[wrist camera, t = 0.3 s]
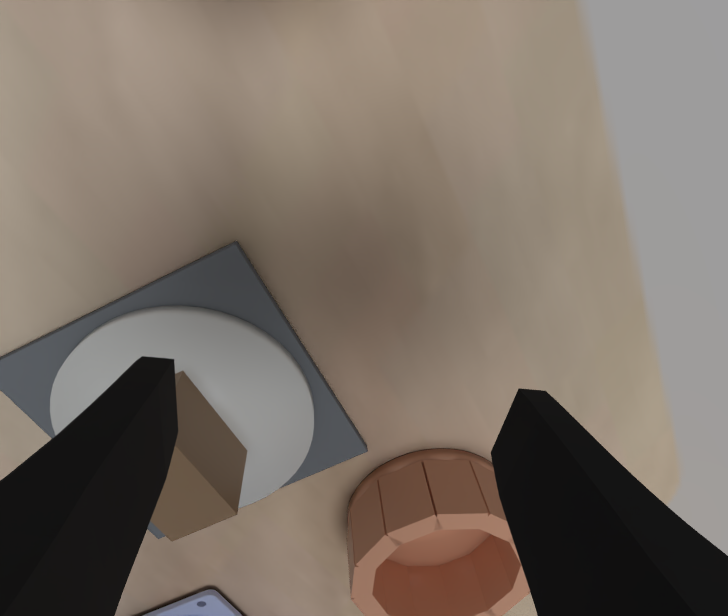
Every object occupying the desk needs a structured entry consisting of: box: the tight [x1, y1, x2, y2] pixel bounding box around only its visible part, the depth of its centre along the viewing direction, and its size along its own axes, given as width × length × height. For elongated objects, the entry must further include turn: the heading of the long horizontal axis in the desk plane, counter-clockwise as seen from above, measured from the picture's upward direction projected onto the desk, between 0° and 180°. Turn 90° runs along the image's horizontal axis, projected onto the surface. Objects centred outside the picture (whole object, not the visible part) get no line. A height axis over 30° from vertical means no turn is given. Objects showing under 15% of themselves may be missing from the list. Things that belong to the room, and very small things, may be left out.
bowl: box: [347, 449, 530, 616], centre depth 26 cm, size 9×9×4 cm
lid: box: [50, 306, 314, 541], centre depth 21 cm, size 11×11×4 cm
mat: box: [0, 241, 368, 539], centre depth 23 cm, size 12×12×1 cm
